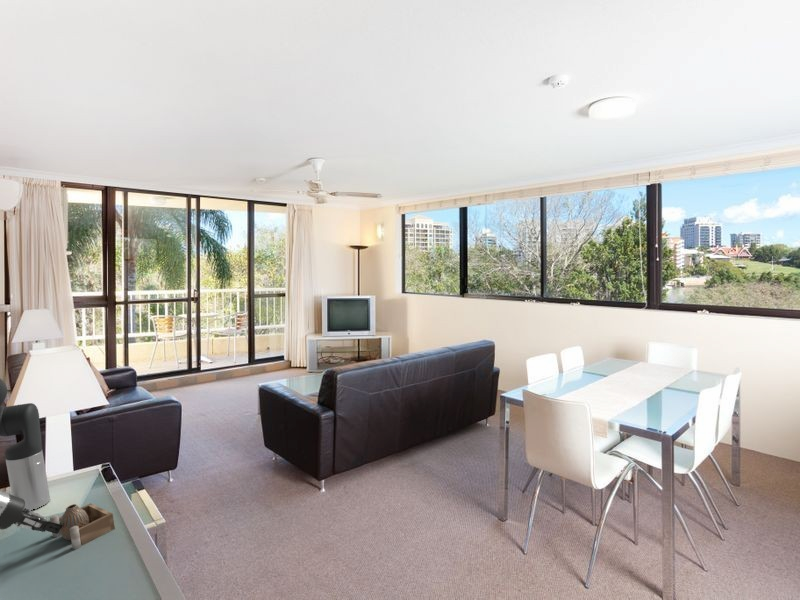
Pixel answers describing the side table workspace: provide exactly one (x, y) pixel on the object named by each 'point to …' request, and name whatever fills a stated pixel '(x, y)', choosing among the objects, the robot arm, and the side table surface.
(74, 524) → the vase
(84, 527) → the housing
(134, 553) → the side table surface
